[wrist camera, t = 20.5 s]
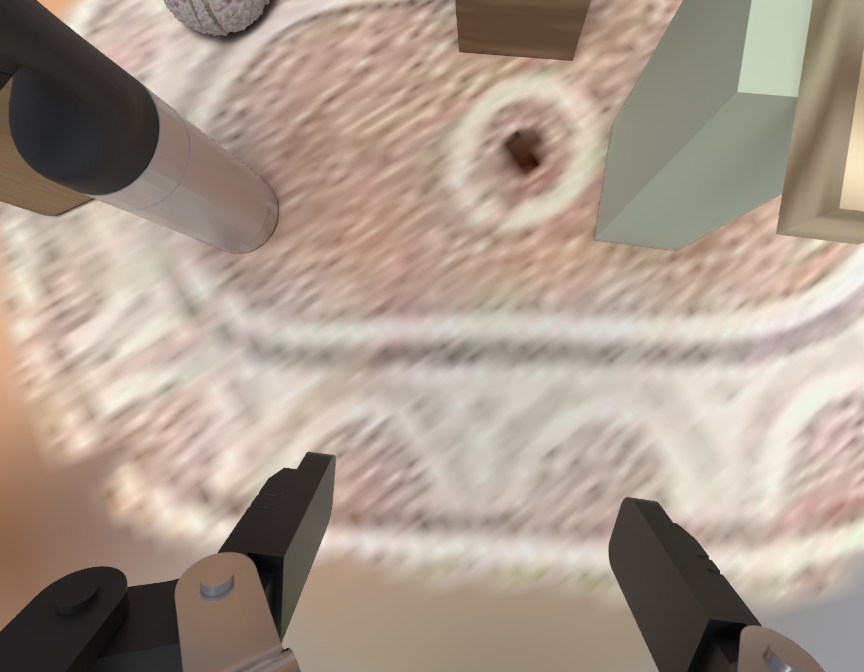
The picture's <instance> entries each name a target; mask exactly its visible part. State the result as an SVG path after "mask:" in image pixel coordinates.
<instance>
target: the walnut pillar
mask: <svg viewBox="0 0 864 672" xmlns="http://www.w3.org/2000/svg"><path fill="white" fill-rule="evenodd" d="M455 1H456V14H457V27H458V40H459V52H467V53H480V54H493V55H507V56H520V57H533V58H546V59H559V60H573V57H574V53H575V50H576V47H577V44H578V40H579V37H580V34H581V30H582V27H583V24H584V21H585V17H586V14H587V11H588V7H589V4H590V1H591V0H455Z"/></svg>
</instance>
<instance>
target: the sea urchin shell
mask: <svg viewBox="0 0 864 672" xmlns="http://www.w3.org/2000/svg"><path fill="white" fill-rule="evenodd" d="M164 1H165V4H166V6H167V8H169V10H170V12H172V13H174V15H175V18H177V19H178V21H181V22H183V24H184V25H185V26H188V27H191V28H192V29H193V30H194V31H198V32H201V33H202V34H204V35H205V34H206V33H209V34H212V35H213V36H214V37H215V36H216V35H218V36H219V35H224V36H226V35H227V34H228V33H229V32H231V31H232V32H237V31H238V32H239V31H241V30H245V28H246V27H247V26H249V25H250V24H252V23H253V21H254V20H255V21H257V19H258V18H259V16H260V15H261V14H263V8H264V6H265V5H267V4H269V0H164Z"/></svg>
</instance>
